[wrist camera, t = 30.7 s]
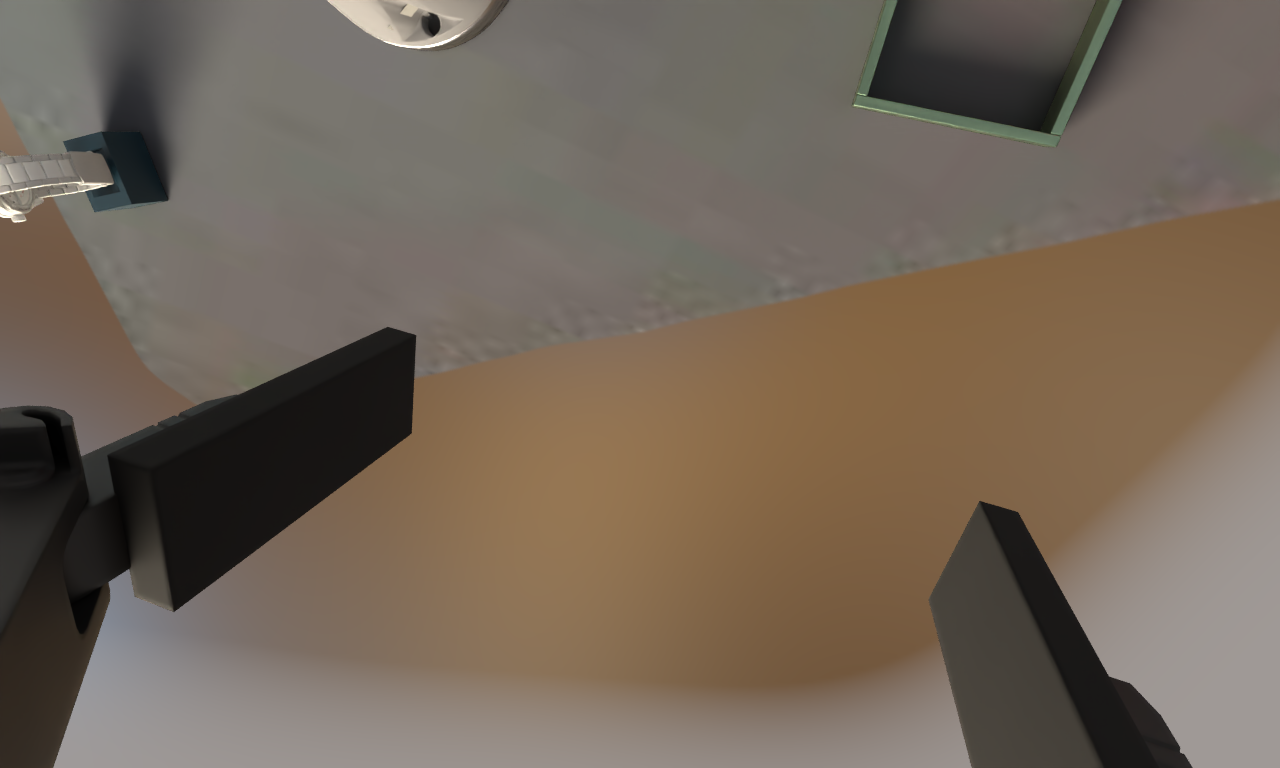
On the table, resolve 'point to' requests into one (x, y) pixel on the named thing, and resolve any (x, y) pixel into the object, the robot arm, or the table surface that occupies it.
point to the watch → (82, 175)
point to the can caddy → (1045, 137)
